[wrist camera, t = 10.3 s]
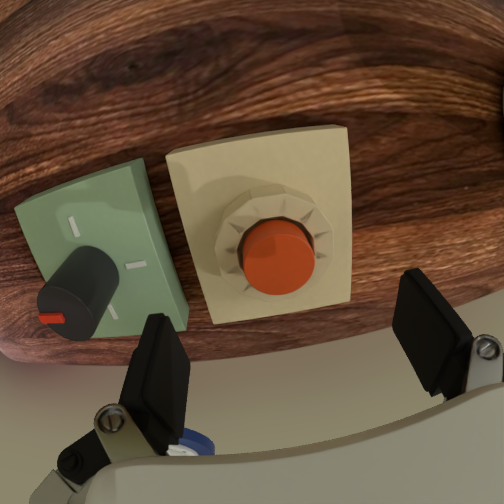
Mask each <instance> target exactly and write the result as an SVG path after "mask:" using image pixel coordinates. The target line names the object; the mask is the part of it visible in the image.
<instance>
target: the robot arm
mask: <svg viewBox="0 0 504 504" xmlns="http://www.w3.org/2000/svg"><path fill="white" fill-rule="evenodd" d="M392 328H393V331H394V333H395V335H396V337H397V339H398V340H399V342H400V344H401V346H402V348H403V350H404V351H405V353H406V355H407V357H408V359H409V360H410V362H411V364H412V366H413V368H414V370H415V372H416V374H417V376H418V378H419V380H420V382H421V384H422V386H423V388H424V390H425V391H427V392H428V391H429V393H430V395H431V397H433V396H435V395H438V394H440V393H442V394H443V396H444V401H443V403H442V404H439V405H437V406H435V407H432V408H430V409H427V410H425V411H422V412H420V413H417V414H414V415H412V416H409V417H406V418H404V419H401V420H398V421H395V422H393V423H389V424H386V425H383V426H380V427H377V428H373V429H370V430H367V431H364V432H360V433H357V434H352V435H349V436H345V437H341V438H337V439H332V440H328V441H323V442H318V443H313V444H308V445H303V446H298V447H292V448H284V449H278V450H270V451H262V452H253V453H241V454H227V455H204V456H199V455H198V453H197V452H196V451H194V450H193V449H191V448H189V447H187V446H184V445H181V444H179V438H182V437H183V433H184V422H185V412H186V402H187V393H188V384H189V376H190V361H189V358H188V356H187V354H186V352H185V350H184V348H183V346H182V344H181V342H180V339H179V337H178V335H177V333H176V331H175V328H174V326H173V324H172V322H171V319H170V317H169V316H165V315H164V313H155V314H149V315H148V317H147V319H146V322H145V326H144V329H143V332H142V335H141V338H140V341H139V344H138V347H137V348H136V349H135V350H134V352H133V354H132V357H131V361H130V364H129V367H128V371H127V374H126V377H125V381H124V384H123V388H122V391H121V395H120V399H119V402H118V404H114V403H113V404H108V405H106V406H104V407H102V408H101V409H100V410H99V411H98V412H97V414H96V416H95V418H94V427H95V429H93V430H92V431H90V432H89V433H87V434H86V435H85V436H83V437H82V438H80V439H79V440H77V441H76V442H74V443H73V444H72V445H70V446H69V447H67V448H66V449H64V450H63V451H62V452H61V453H60V455H59V457H58V460H57V467H58V469H57V470H56V471H55V470H54V469H53V470H52V471H51V472H50V474H49V475H48V476H47V477H46V478H45V479H44V481H43V482H42V483H41V484H40V485H39V487H38V488H37V489H36V490H35V491H34V492H33V494H32V495H31V497H30V501H29V504H504V353H503V348H502V345H501V343H500V342H499V341H498V340H497V339H496V338H495V337H493V336H490V335H486V334H482V335H479V336H477V337H476V338H474V337H473V336H472V332H471V331H470V330H469V329H468V327H467V326H466V324H465V323H464V322H463V321H462V319H461V318H460V317H459V315H458V314H457V313H456V312H455V310H454V309H453V308H452V307H451V305H450V304H449V303H448V302H447V300H446V299H445V298H444V297H443V296H442V294H441V293H440V292H439V291H438V290H437V288H436V287H435V286H434V285H433V284H432V283H431V281H430V280H429V279H428V278H427V277H426V276H425V275H424V273H423V272H422V271H421V270H420V269H419V268H414V269H410V270H406V271H405V272H404V274H403V275H401V278H400V284H399V290H398V296H397V302H396V307H395V312H394V318H393V322H392Z"/></svg>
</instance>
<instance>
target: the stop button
mask: <svg viewBox="0 0 504 504" xmlns="http://www.w3.org/2000/svg"><path fill="white" fill-rule="evenodd" d="M314 266H315V257H314V253H313V251H312V249H311V246H310V244H309V242H308V240H307V238H306V236H305V234H304V233H303V231H302V230H301V229H300V228H299V227H297V226H296V225H294V224H293V223H290V222H287V221H283V220H271V221H267V222H264V223H262V224H260V225H258V226H257V227H255V228H254V229H253V230H252V231H251V232H250V233H249V234H248V236H247V237H246V239H245V241H244V244H243V268H244V274H245V277H246V279H247V281H248V282H249V283H250V284H251V286H252V287H254V288H255V289H256V290H258V291H260V292H262V293H265V294H269V295H285V294H289V293H292V292H294V291H296V290H298V289H299V288H301V287H302V286H303V285H304V284H305V283H306V282H307V281H308V280H309V278H310V277H311V275H312V273H313V270H314Z"/></svg>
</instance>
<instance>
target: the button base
mask: <svg viewBox="0 0 504 504" xmlns="http://www.w3.org/2000/svg"><path fill="white" fill-rule="evenodd" d="M166 161H167V165H168V170H169V174H170V178H171V182H172V186H173V190H174V193H175V197H176V201H177V205H178V209H179V212H180V216H181V220H182V223H183V227H184V231H185V234H186V238H187V241H188V245H189V248H190V252H191V255H192V258H193V262H194V265H195V268H196V272H197V275H198V278H199V281H200V285H201V288H202V291H203V294H204V297H205V300H206V304H207V307H208V310H209V313H210V316H211V319H212V322H213V324H220V323H227V322H234V321H241V320H248V319H254V318H261V317H267V316H273V315H279V314H285V313H291V312H296V311H302V310H307V309H313V308H318V307H323V306H328V305H333V304H338V303H343V302H348V301H350V291H351V264H352V204H351V178H350V161H349V147H348V135H347V128H346V127H342V126H338V125H322V126H311V127H301V128H292V129H284V130H276V131H269V132H262V133H255V134H249V135H243V136H237V137H231V138H226V139H220V140H215V141H210V142H205V143H200V144H196V145H191V146H187V147H182V148H178V149H174V150H173V151H171V152H170V153H169V154H167V155H166ZM271 220H283V221H287V222H290V223H293V224H294V225H296V226H297V227H299V228H300V229H301V230H302V231H303V233H304V234H305V236H306V238H307V240H308V242H309V244H310V246H311V249H312V251H313V253H314V257H315V266H314V270H313V273H312V275H311V277H310V278H309V280H308V281H307V282H306V283H305V284H304V285H303V286H302V287H301V288H299V289H298V290H296V291H294V292H292V293H289V294H285V295H269V294H265V293H262V292H260V291H258V290H256V289H255V288H254V287H252V286H251V284H250V283H249V282H248V281H247V279H246V277H245V274H244V268H243V244H244V241H245V239H246V237H247V236H248V234H249V233H250V232H251V231H252V230H253V229H254V228H255V227H257V226H258V225H260V224H262V223H264V222H267V221H271Z"/></svg>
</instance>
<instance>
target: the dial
mask: <svg viewBox="0 0 504 504" xmlns="http://www.w3.org/2000/svg"><path fill="white" fill-rule="evenodd" d="M118 285H119V272H118V269H117V267H116V265H115V263H114V262H113V260H112V259H111V258H110V257H109V256H108V255H107V254H106V253H105V252H103V251H102V250H100V249H98V248H96V247H92V246H81V247H78V248H76V249H75V250H74V251H73V252H72V253H71V254H70V255H69V256H68V258H67V259H66V260H65V261H64V262H63V263H62V264H61V266H60V267H59V268H58V269H57V270H56V272H55V273H54V274H53V275H52V276H51V278H50V279H49V280H48V281H47V283H46V284H45V285H44V286H43V288H42V289H41V290H40V291H39V293H38V296H37V306H38V310H39V312H40V314H39V315H38V318H39V319H40V321H41V323H47V325H48V326H49V327H50V328H51V329H52V330H54V331H55V332H56V333H58V334H59V335H61V336H62V337H64V338H67V339H69V340H73V341H86V340H88V339H90V338H91V337H92V336H93V335H94V333H95V331H96V329H97V327H98V325H99V323H100V321H101V319H102V317H103V315H104V313H105V311H106V309H107V307H108V305H109V303H110V301H111V299H112V297H113V295H114V293H115V291H116V289H117V287H118Z"/></svg>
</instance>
